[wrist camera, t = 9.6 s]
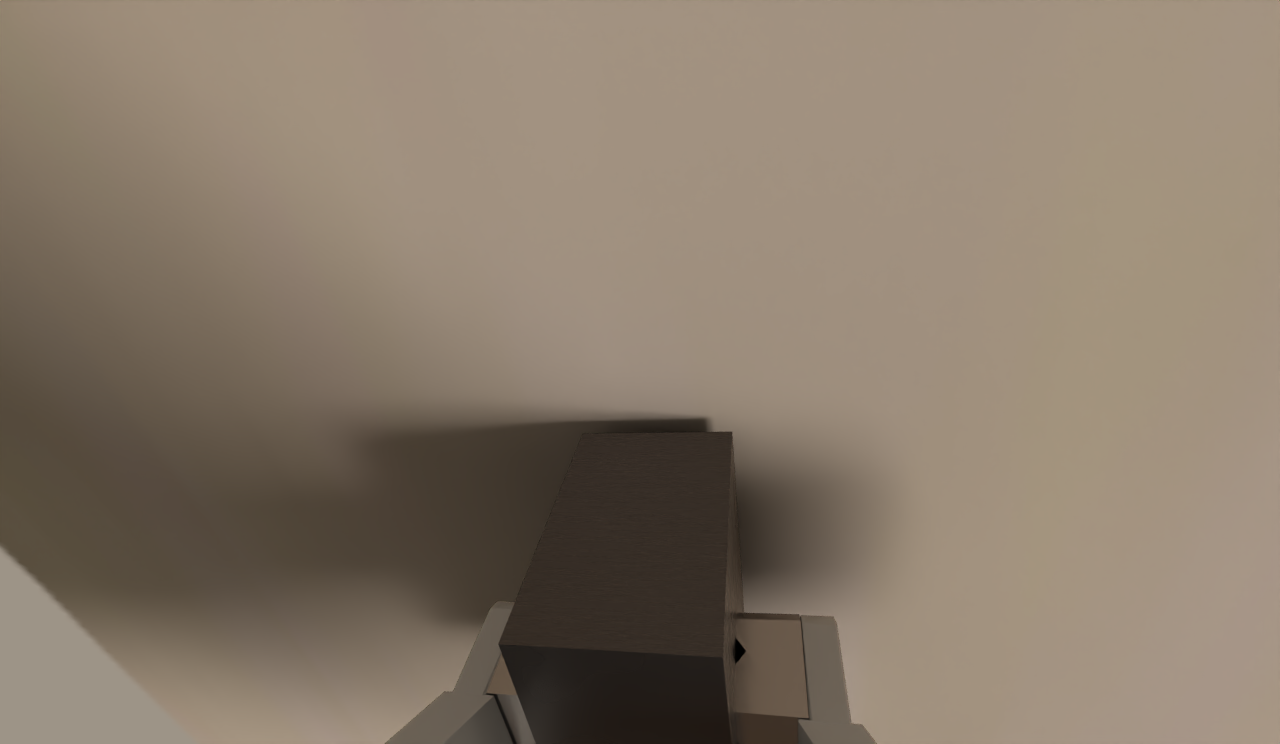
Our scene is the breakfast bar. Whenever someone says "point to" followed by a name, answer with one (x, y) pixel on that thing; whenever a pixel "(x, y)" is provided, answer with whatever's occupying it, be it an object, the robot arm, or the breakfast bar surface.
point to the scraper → (633, 596)
